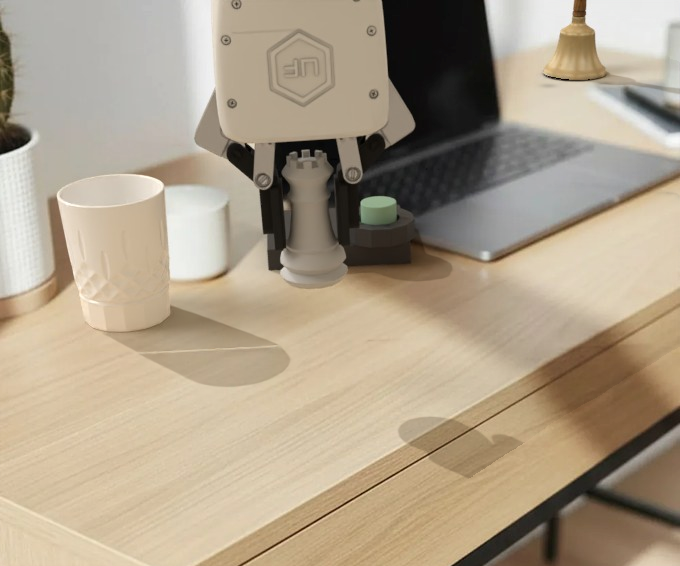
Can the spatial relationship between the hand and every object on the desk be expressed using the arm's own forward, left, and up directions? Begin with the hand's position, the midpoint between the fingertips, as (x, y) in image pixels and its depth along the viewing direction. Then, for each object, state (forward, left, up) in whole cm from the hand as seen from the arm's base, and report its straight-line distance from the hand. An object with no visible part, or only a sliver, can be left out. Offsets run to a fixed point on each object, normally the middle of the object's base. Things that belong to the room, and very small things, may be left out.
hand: (311, 238), depth 77 cm
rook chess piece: (0, 0, -3) cm, 3 cm away
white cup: (+14, -14, -11) cm, 23 cm away
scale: (-3, -27, -10) cm, 29 cm away
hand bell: (-37, -87, -11) cm, 95 cm away
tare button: (-6, -24, -7) cm, 26 cm away
